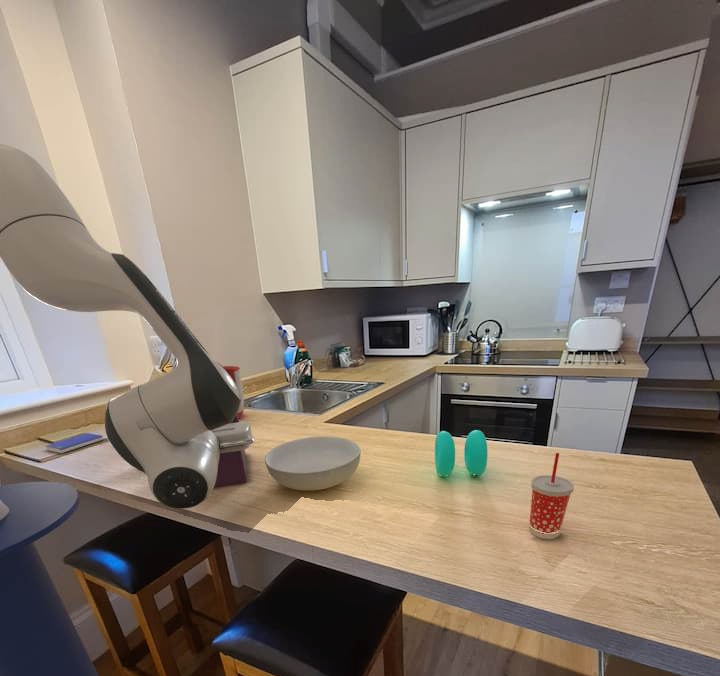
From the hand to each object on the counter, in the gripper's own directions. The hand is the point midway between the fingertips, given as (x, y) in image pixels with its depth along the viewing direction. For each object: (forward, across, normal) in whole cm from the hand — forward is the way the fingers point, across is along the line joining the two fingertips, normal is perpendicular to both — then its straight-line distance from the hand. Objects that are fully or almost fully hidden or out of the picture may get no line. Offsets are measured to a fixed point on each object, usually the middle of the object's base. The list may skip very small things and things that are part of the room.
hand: (200, 428), depth 80 cm
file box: (+11, 0, +14) cm, 18 cm away
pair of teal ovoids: (-12, -53, +14) cm, 56 cm away
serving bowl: (-3, -22, +14) cm, 27 cm away
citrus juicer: (+60, -1, +15) cm, 62 cm away
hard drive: (+51, +44, +15) cm, 69 cm away
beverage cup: (-37, -55, +14) cm, 68 cm away
